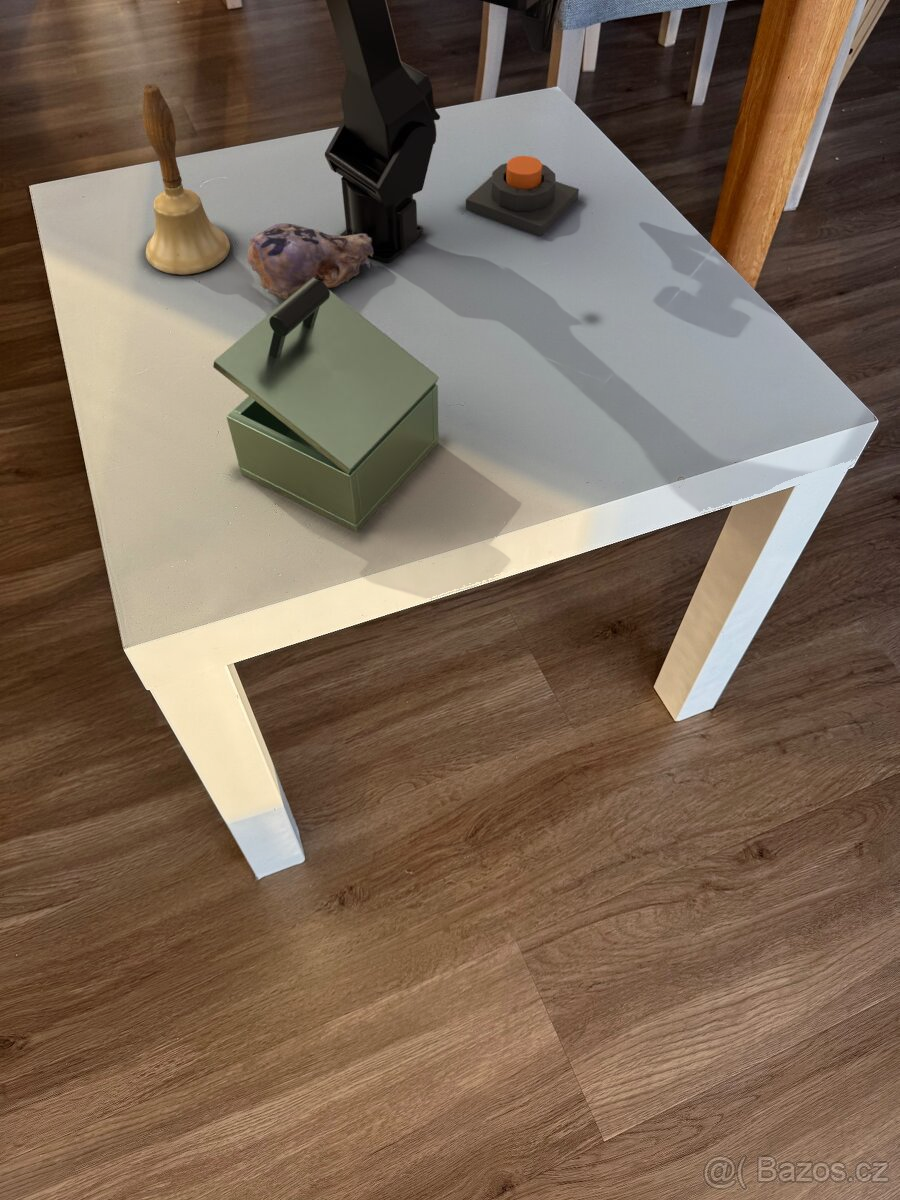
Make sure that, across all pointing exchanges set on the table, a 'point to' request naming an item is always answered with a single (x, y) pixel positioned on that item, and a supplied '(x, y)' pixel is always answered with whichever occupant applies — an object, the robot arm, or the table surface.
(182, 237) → the hand bell
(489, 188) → the control block
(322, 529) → the table surface
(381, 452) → the green box
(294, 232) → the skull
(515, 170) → the button
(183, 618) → the table surface
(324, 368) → the box lid
